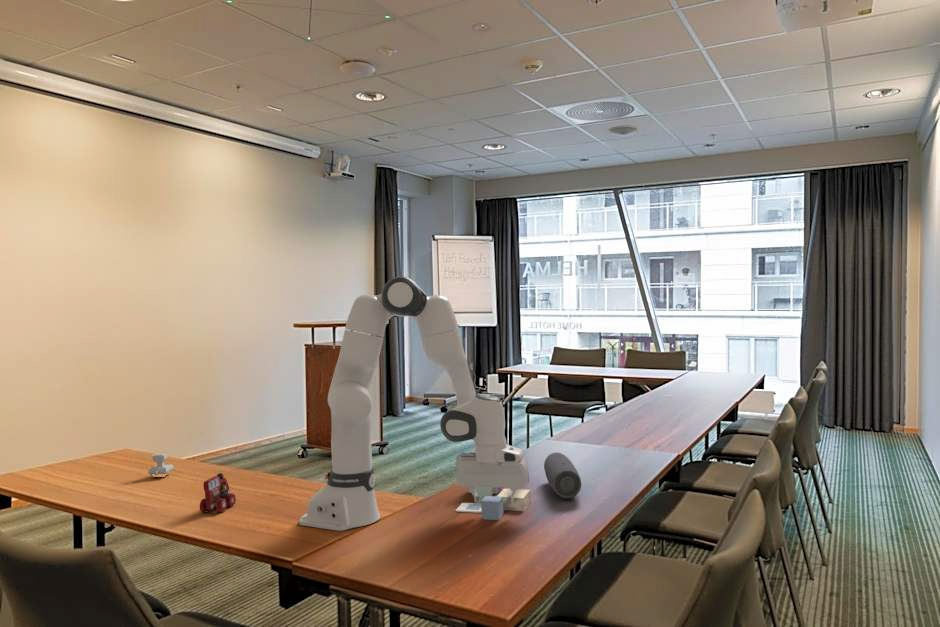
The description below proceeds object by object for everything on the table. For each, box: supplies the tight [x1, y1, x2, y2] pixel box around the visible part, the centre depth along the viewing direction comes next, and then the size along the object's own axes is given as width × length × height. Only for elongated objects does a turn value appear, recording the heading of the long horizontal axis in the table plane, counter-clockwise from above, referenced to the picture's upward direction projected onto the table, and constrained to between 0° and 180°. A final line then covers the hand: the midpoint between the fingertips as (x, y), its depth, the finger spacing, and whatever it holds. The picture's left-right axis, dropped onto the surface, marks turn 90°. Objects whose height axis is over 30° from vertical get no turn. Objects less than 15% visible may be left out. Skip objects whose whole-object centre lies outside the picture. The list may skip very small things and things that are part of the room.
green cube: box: [475, 487, 493, 503], centre depth 194 cm, size 5×5×5 cm
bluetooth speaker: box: [543, 452, 582, 499], centre depth 200 cm, size 23×9×10 cm, turn 0°
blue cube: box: [480, 495, 505, 521], centre depth 179 cm, size 5×5×5 cm
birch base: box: [496, 488, 532, 512], centre depth 188 cm, size 8×8×4 cm
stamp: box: [147, 452, 175, 476], centre depth 240 cm, size 9×7×8 cm
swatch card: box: [455, 502, 482, 514], centre depth 187 cm, size 9×7×1 cm
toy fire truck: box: [199, 472, 237, 513], centre depth 197 cm, size 7×12×10 cm, turn 172°
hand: (494, 502), depth 180 cm, fingers open, 8 cm apart
